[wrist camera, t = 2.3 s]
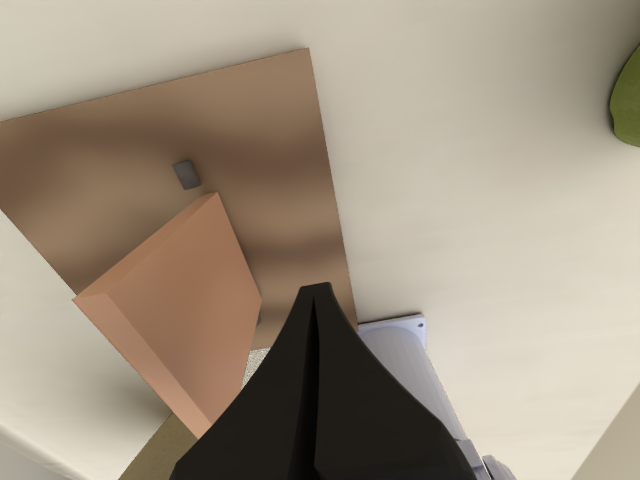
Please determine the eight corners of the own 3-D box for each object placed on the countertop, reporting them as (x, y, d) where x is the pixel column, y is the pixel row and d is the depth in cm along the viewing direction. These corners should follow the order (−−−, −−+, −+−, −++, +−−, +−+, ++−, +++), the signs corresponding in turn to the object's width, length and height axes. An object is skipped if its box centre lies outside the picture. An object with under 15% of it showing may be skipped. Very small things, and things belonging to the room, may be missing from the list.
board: (357, 323, 22) (361, 341, 20) (148, 359, 23) (135, 380, 21) (308, 51, 13) (308, 42, 11) (-39, 135, 14) (-91, 139, 12)
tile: (262, 300, 18) (227, 443, 11) (246, 303, 19) (201, 447, 11) (217, 191, 14) (106, 293, 6) (198, 196, 14) (65, 301, 7)
